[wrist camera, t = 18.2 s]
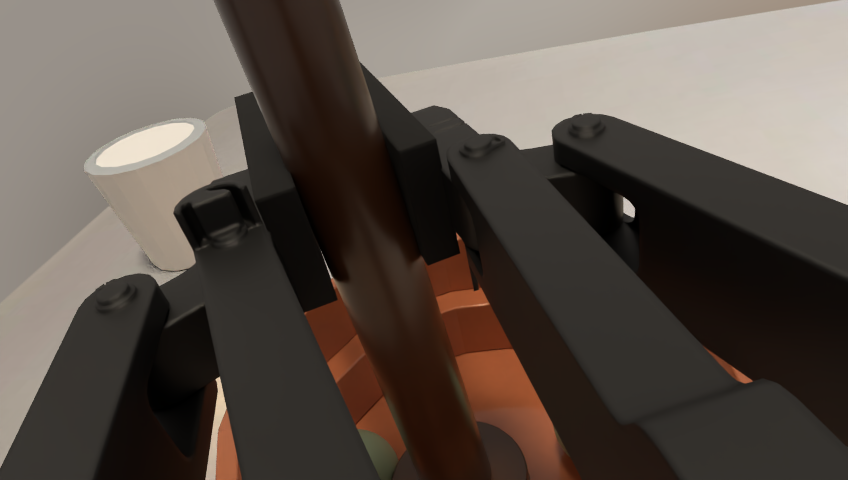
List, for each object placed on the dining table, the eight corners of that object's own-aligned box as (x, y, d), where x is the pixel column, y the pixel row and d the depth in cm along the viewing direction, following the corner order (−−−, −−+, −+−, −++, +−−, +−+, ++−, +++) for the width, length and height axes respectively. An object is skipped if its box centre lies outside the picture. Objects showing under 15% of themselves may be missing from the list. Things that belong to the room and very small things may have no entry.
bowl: (200, 552, 19) (117, 452, 16) (452, 295, 27) (429, 195, 24) (610, 985, 11) (602, 948, 7) (801, 421, 19) (834, 292, 16)
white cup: (267, 236, 35) (222, 131, 31) (157, 293, 32) (92, 186, 29) (229, 201, 40) (186, 107, 36) (131, 248, 37) (73, 152, 34)
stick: (376, 505, 18) (15, -204, 9) (471, 424, 19) (250, -244, 10) (459, 603, 15) (36, -331, 6) (563, 496, 16) (364, -356, 7)
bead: (338, 491, 20) (294, 436, 19) (410, 453, 20) (370, 396, 19) (340, 562, 17) (288, 505, 16) (422, 520, 17) (377, 458, 16)
